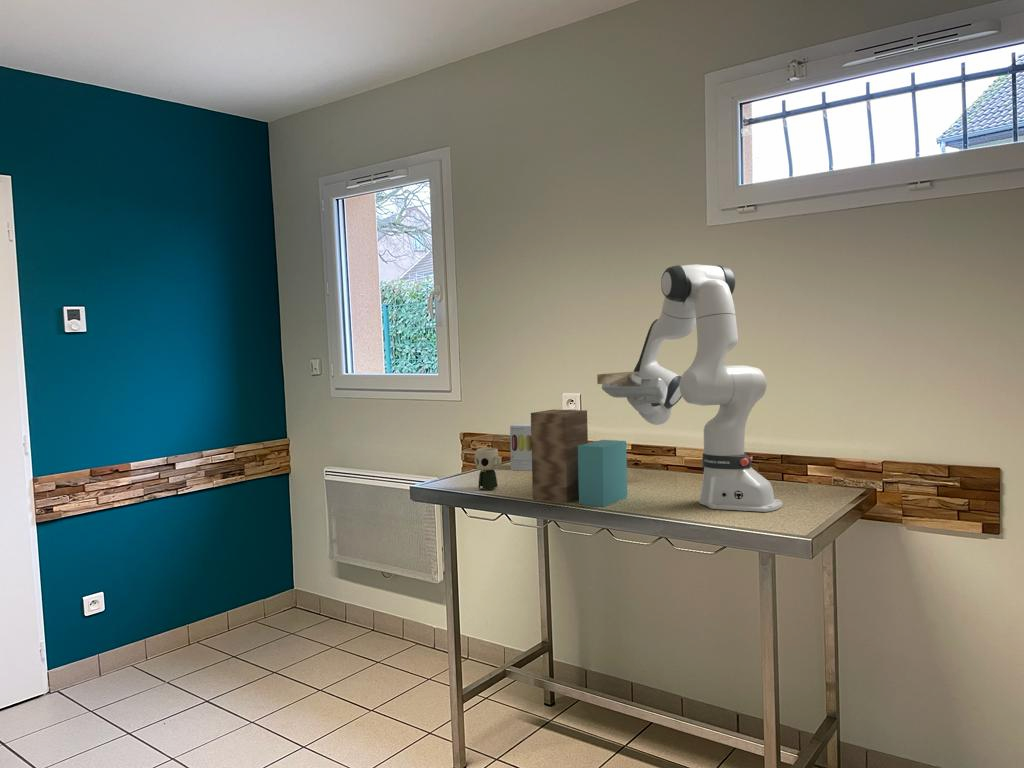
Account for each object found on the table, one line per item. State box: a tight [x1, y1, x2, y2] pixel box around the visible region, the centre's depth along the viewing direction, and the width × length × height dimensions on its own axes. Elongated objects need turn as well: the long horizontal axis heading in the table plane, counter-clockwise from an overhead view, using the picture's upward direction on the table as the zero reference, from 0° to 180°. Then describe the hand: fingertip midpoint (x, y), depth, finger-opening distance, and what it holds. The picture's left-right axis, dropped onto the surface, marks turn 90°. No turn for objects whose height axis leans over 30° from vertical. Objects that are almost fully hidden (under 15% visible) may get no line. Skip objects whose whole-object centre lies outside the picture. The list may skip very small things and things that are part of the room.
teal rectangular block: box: [578, 439, 628, 508], centre depth 228 cm, size 8×15×17 cm, turn 145°
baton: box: [596, 371, 639, 385], centre depth 236 cm, size 3×22×3 cm, turn 145°
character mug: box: [474, 447, 501, 490], centre depth 251 cm, size 11×7×13 cm, turn 49°
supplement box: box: [509, 422, 532, 471], centre depth 292 cm, size 10×9×17 cm
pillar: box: [530, 409, 589, 504], centre depth 235 cm, size 12×13×26 cm
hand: (623, 375), depth 238 cm, fingers closed on baton, 3 cm apart
